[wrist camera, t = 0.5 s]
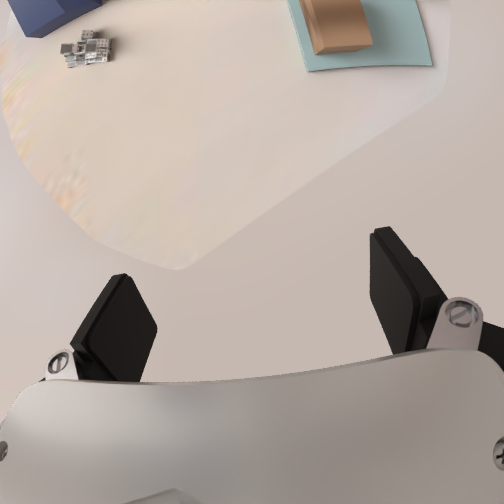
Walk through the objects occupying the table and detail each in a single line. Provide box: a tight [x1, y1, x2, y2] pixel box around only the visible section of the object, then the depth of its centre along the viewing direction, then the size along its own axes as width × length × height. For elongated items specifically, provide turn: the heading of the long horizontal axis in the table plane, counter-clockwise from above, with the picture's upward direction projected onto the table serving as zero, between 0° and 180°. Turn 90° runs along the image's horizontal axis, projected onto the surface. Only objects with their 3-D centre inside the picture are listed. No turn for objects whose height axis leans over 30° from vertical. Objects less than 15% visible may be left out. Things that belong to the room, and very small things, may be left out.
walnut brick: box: [299, 0, 373, 55], centre depth 24 cm, size 8×6×6 cm
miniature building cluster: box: [60, 30, 112, 68], centre depth 24 cm, size 9×9×8 cm
